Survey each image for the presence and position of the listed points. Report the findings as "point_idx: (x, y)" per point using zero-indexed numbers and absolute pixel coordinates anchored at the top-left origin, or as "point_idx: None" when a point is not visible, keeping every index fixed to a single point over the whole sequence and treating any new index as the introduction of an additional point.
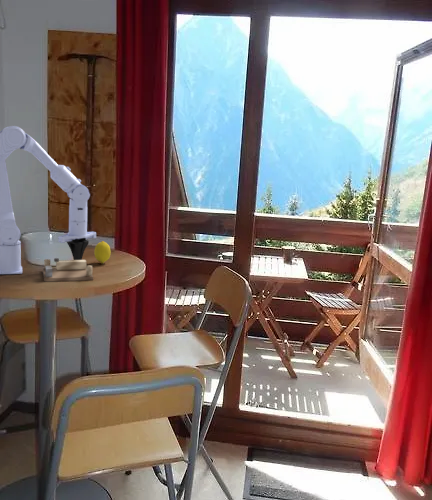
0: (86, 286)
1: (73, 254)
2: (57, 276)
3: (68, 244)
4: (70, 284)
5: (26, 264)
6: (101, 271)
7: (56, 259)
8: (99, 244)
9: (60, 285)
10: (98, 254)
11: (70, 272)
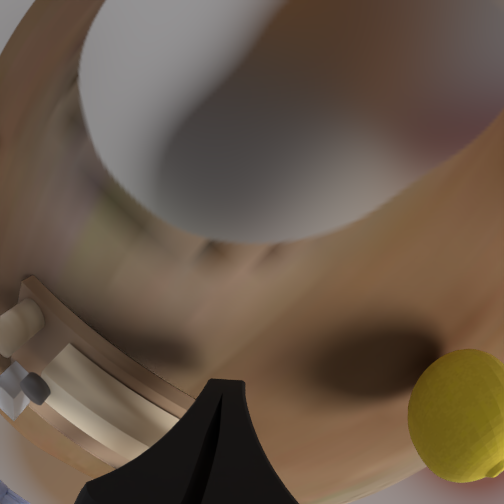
0: None
1: (192, 420)
2: (45, 412)
3: (107, 480)
4: (75, 449)
5: (55, 65)
6: (278, 459)
7: (30, 397)
8: (461, 473)
9: (49, 432)
10: (411, 433)
11: None
